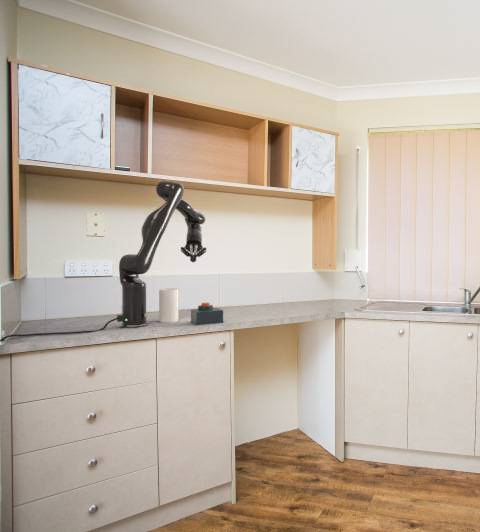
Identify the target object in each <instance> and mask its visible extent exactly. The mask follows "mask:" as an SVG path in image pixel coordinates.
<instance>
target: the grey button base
mask: <svg viewBox="0 0 480 532" xmlns="http://www.w3.org/2000/svg"><path fill="white" fill-rule="evenodd" d="M190 323H192V324H194V325H196V326H203V325H214V324H224V309H221V308H218V307H214V305H213V304H210V306H201V304H200V305H198V306H197V308H194V309H190Z"/></svg>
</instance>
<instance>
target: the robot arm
mask: <svg viewBox="0 0 480 532" xmlns="http://www.w3.org/2000/svg"><path fill="white" fill-rule="evenodd" d="M155 192H156V194H157V196H158V198H160V199H162V200H163V201H164V203H163V204H162V205H161V206H159V207H158V208H156V209H155V210H153V211H152V212H150V213H149V214H148V215H147V216H146V218H145V220H144V222H143V224H142V226H141V229H140V230H141V239H142V244H141V246H140V249H139V250H138V252H137V254H130V253H129V254H124V255H122V257H121V258H120V260H119V263H118V273H119V282H120V285H121V314H116V318H113V319H110V320H108V321H107V322H106V323H105V324H104V326H103V327H102V328H99V329H95V330H80V331H79V330H78V331H61V332H60V331H59V332H38V333H27V334H8V335H6V336H4V337H2V338H1V339H0V342H3V341H4V340H6V339H8V338H12V337H31V336H32V337H34V336H47V335H48V336H51V335H53V336H54V335H70V334H72V335H73V334H84V333H85V334H86V333H95V332H99V331H103V330H105V329H106V328H107V326H108V325H109V324H110V323H112V322H114V321H116V322H117V323H121V327H122V329H125V328H127V329H128V328H140V327H146V326H147V317H148V313H147V283H146V282H145V281H143V280H142V279H141V278H140V275H144V274H146V273H148V271H149V270H150V268H151V266H152V263H153V260H154V257H155V254H156V251H157V249H158V246H159V244H160V242H161V240H162V237H163V235H164V233H165V232H166V229H167V227H168V225H169V222H170V220H171V219H172V216H173V214H174V212H175V210H177V212H179V214H181V215H182V217H183V218H184V222H185V225H186V227H187V233H186V241H185V245H184V246H181V247H180V252H181V253H182V254H184V256H186V257H189V261H190V262H191V263H195V262H197V258H200V257H201V256H203V255H204V254H206V253H207V247H204V246H203V234H202V225H203V224H205V222H206V216H205V214H204V213H202V212H201V211H200V210H197V209H196V208H194V207H193V206H192V204H191V203H189V202H188V201H186V200H185V199H183V197H184V193H185V187H184V186H183V184H181V183H180V182H173V181H167V180H161V181H159V182H158V183H157V184H156V186H155Z"/></svg>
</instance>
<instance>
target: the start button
mask: <svg viewBox="0 0 480 532" xmlns="http://www.w3.org/2000/svg"><path fill="white" fill-rule="evenodd" d="M200 305H201V306H210V305H211V304H210V302H201V304H200Z"/></svg>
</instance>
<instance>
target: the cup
mask: <svg viewBox="0 0 480 532" xmlns="http://www.w3.org/2000/svg"><path fill="white" fill-rule="evenodd" d="M178 321H179V288H159V289H158V322H159V323H175V322H178Z"/></svg>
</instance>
